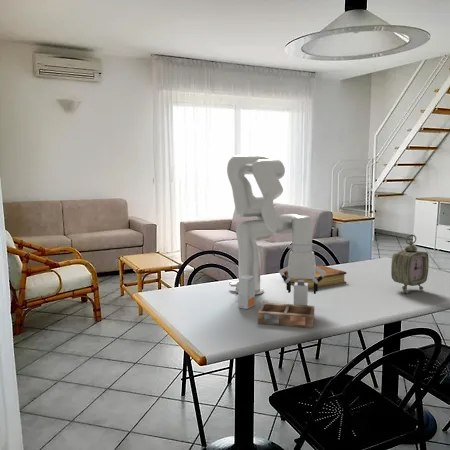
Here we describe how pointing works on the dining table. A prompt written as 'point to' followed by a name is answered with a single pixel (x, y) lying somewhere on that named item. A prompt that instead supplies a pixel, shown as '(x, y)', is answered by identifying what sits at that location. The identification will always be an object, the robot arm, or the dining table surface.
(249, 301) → the skincare box
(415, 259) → the tabletop clock
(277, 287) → the dining table surface
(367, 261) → the dining table surface
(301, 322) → the socket block
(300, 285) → the plug
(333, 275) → the diary
